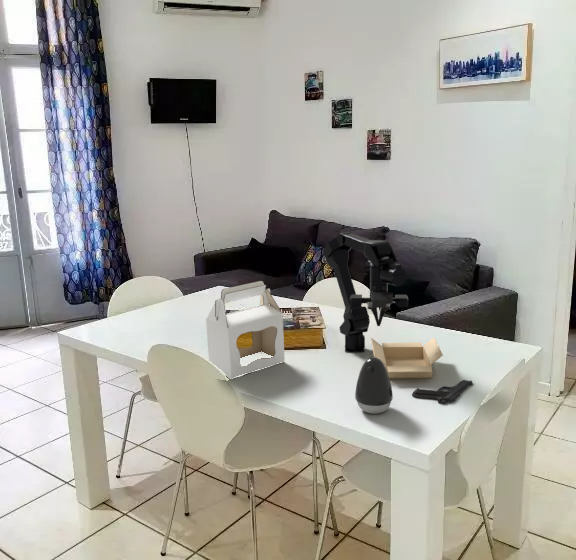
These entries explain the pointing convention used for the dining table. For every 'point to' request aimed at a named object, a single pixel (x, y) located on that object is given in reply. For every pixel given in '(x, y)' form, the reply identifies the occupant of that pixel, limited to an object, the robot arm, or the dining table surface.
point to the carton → (407, 361)
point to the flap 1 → (378, 351)
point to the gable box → (245, 330)
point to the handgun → (443, 392)
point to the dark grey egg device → (373, 387)
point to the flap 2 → (433, 350)
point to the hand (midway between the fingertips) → (378, 325)
